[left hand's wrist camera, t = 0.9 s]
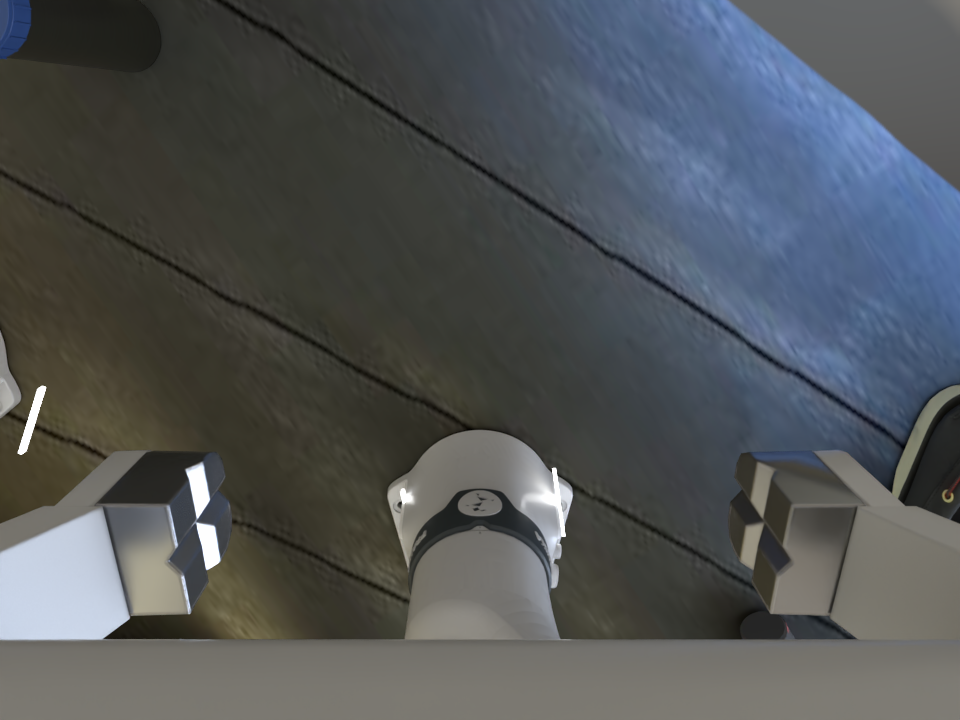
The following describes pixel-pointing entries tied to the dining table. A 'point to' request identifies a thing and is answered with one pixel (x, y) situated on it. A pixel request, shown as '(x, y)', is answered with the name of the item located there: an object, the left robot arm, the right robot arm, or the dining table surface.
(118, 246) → the dining table surface
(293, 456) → the dining table surface
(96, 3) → the dark grey bottle
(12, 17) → the lid
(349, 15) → the dining table surface
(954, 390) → the boat shoe
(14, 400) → the right robot arm
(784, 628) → the power drill
